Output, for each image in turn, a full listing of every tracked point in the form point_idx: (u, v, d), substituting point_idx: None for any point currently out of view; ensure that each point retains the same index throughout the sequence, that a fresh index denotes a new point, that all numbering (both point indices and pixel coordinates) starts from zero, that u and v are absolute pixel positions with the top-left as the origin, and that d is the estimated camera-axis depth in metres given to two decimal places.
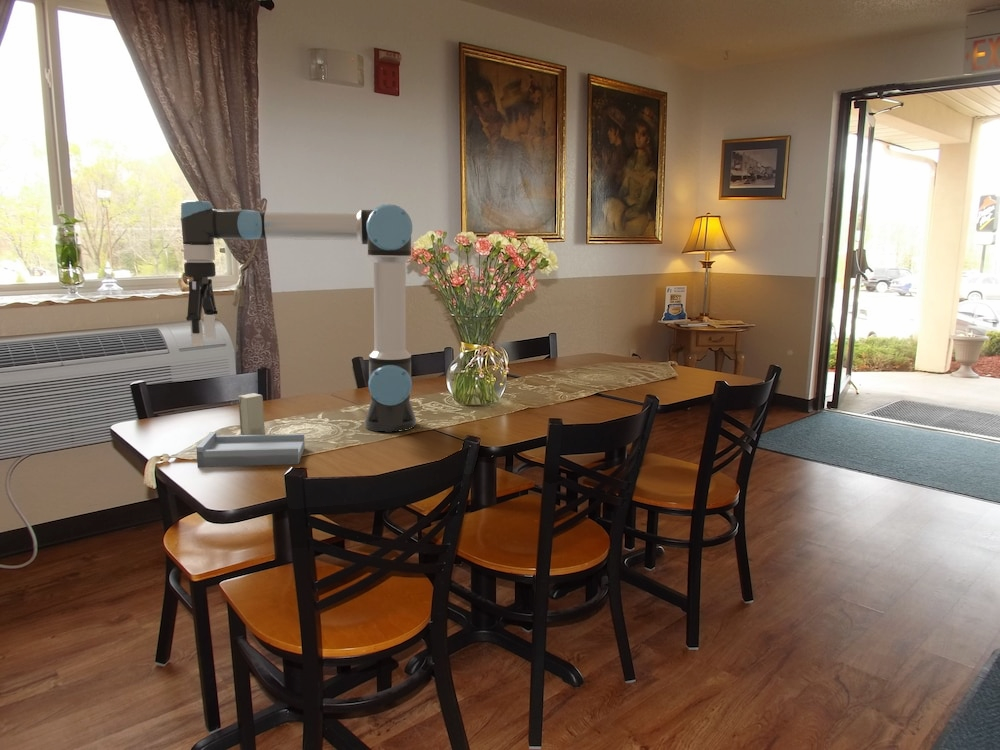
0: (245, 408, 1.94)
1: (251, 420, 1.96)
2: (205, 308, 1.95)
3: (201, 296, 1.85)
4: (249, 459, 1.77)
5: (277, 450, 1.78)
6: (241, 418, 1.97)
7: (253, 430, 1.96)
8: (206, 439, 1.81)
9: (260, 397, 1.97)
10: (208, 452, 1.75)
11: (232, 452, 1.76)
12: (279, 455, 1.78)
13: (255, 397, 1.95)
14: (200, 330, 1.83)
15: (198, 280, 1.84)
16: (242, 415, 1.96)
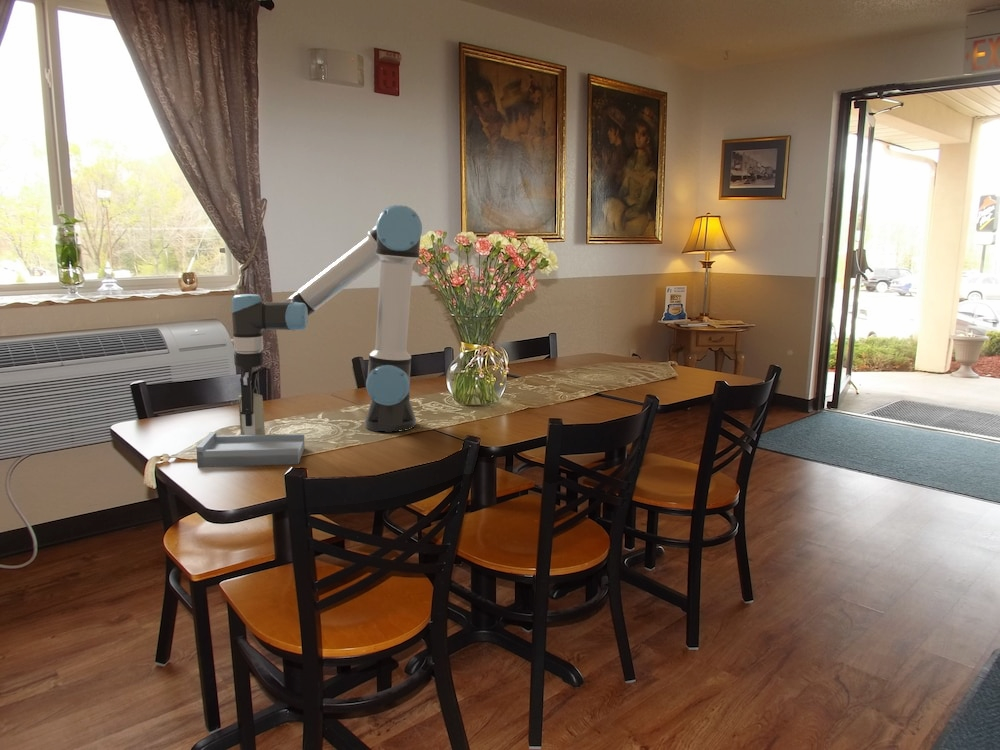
0: None
1: None
2: None
3: (251, 388, 1.93)
4: (249, 459, 1.77)
5: (277, 450, 1.78)
6: (241, 418, 1.97)
7: None
8: (206, 439, 1.81)
9: (260, 397, 1.97)
10: (208, 452, 1.75)
11: (232, 452, 1.76)
12: (279, 455, 1.78)
13: (255, 397, 1.95)
14: (253, 422, 1.94)
15: (248, 370, 1.92)
16: (242, 415, 1.96)
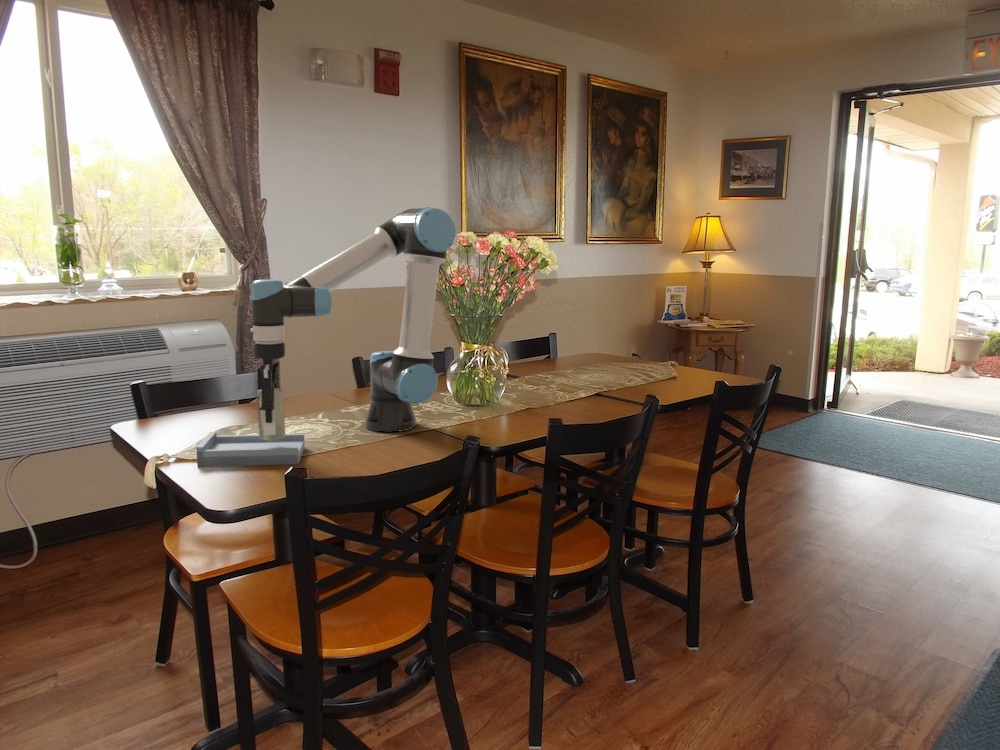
0: None
1: None
2: None
3: (272, 381, 1.78)
4: (249, 459, 1.77)
5: (277, 450, 1.78)
6: (260, 414, 1.81)
7: None
8: (206, 439, 1.81)
9: (281, 392, 1.81)
10: (208, 452, 1.75)
11: (232, 452, 1.76)
12: (279, 455, 1.78)
13: (275, 391, 1.80)
14: (273, 419, 1.79)
15: (268, 362, 1.76)
16: (261, 411, 1.81)
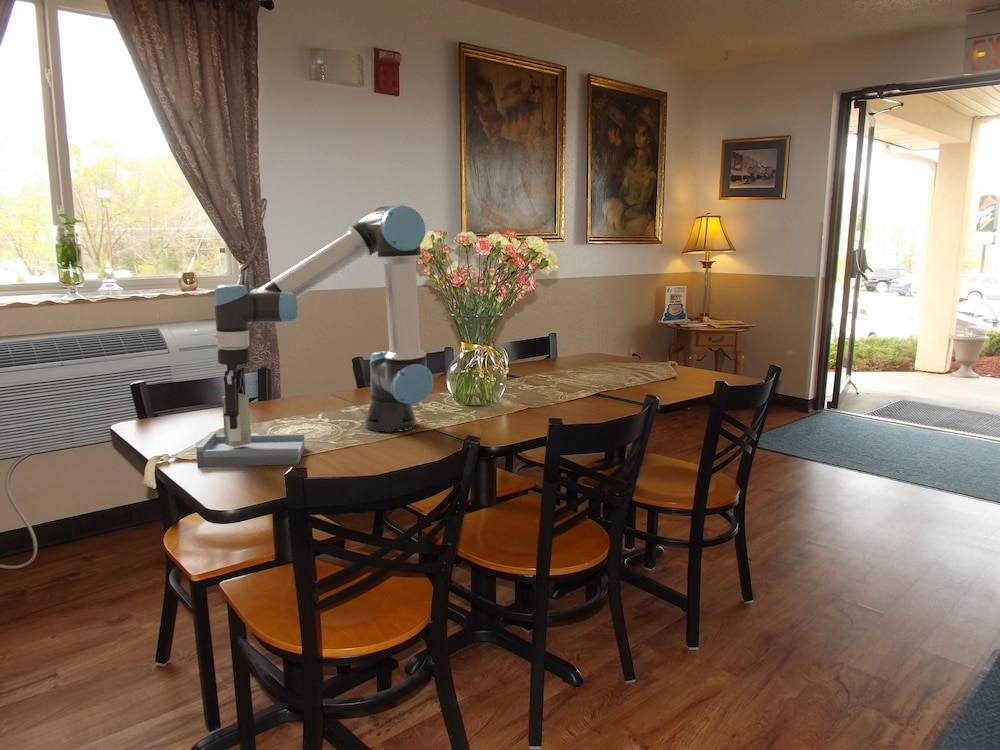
0: None
1: None
2: None
3: (236, 387, 1.77)
4: (249, 459, 1.77)
5: (277, 450, 1.78)
6: (225, 420, 1.80)
7: None
8: (206, 439, 1.81)
9: (246, 397, 1.80)
10: (208, 452, 1.75)
11: (232, 452, 1.76)
12: (279, 455, 1.78)
13: (240, 397, 1.79)
14: (238, 425, 1.78)
15: (232, 368, 1.75)
16: (226, 417, 1.79)
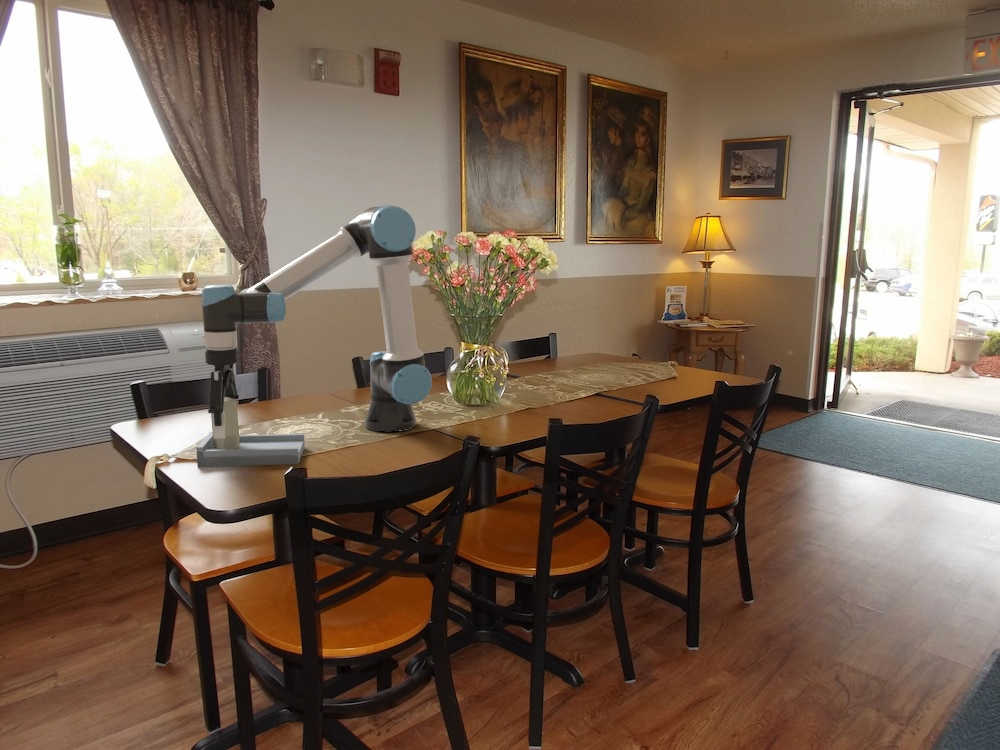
0: None
1: None
2: (226, 393, 1.86)
3: (223, 385, 1.76)
4: (249, 459, 1.77)
5: (277, 450, 1.78)
6: None
7: (226, 437, 1.80)
8: (206, 439, 1.81)
9: (234, 402, 1.80)
10: (208, 452, 1.75)
11: (232, 452, 1.76)
12: (279, 455, 1.78)
13: (228, 402, 1.79)
14: (222, 422, 1.74)
15: (220, 369, 1.75)
16: None
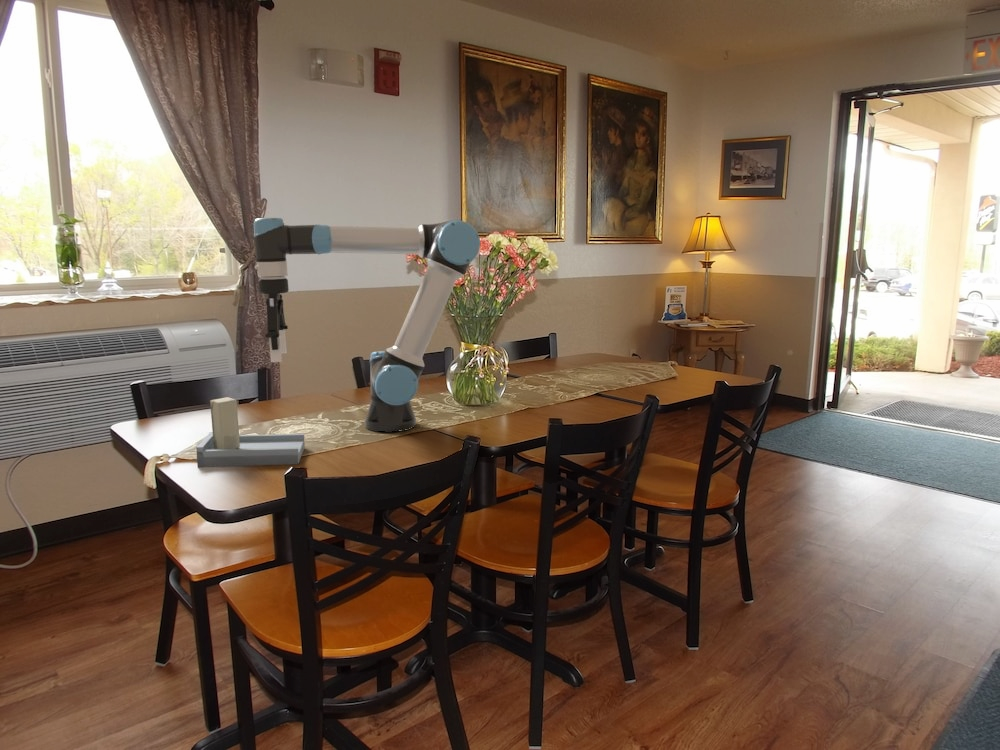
0: (217, 414, 1.78)
1: (224, 427, 1.79)
2: None
3: (277, 312, 1.86)
4: (249, 459, 1.77)
5: (277, 450, 1.78)
6: (213, 425, 1.80)
7: (226, 437, 1.80)
8: (206, 439, 1.81)
9: (234, 402, 1.80)
10: (208, 452, 1.75)
11: (232, 452, 1.76)
12: (279, 455, 1.78)
13: (228, 402, 1.79)
14: (279, 346, 1.84)
15: (274, 297, 1.85)
16: (215, 421, 1.79)
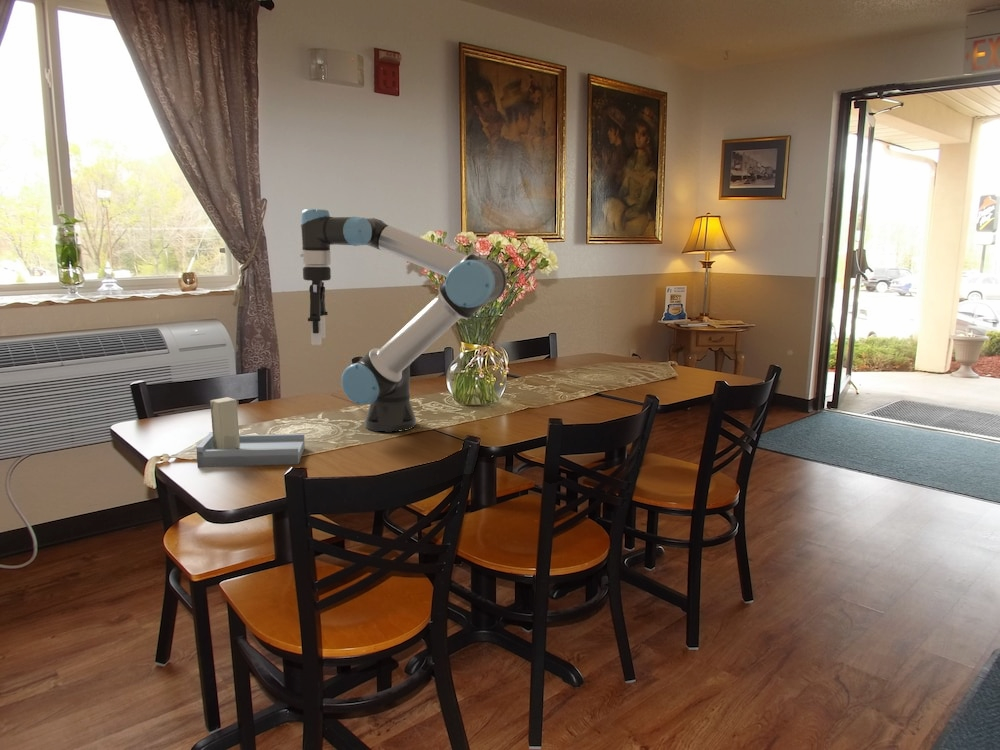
0: (217, 414, 1.78)
1: (224, 427, 1.79)
2: None
3: (319, 298, 1.97)
4: (249, 459, 1.77)
5: (277, 450, 1.78)
6: (213, 425, 1.80)
7: (226, 437, 1.80)
8: (206, 439, 1.81)
9: (234, 402, 1.80)
10: (208, 452, 1.75)
11: (232, 452, 1.76)
12: (279, 455, 1.78)
13: (228, 402, 1.79)
14: (319, 330, 1.96)
15: (317, 283, 1.97)
16: (215, 421, 1.79)
